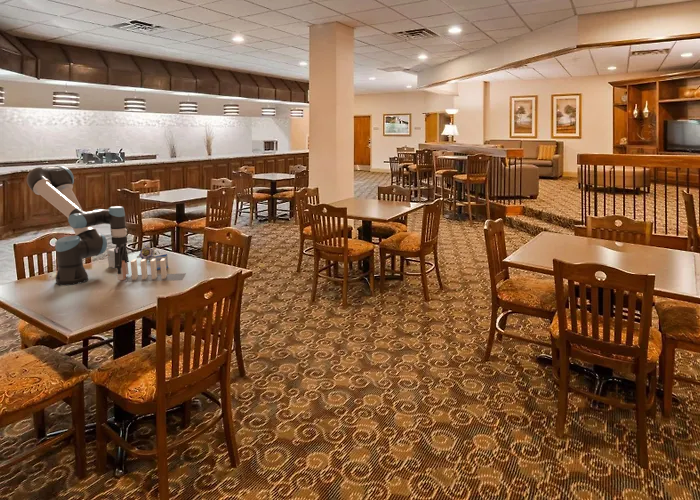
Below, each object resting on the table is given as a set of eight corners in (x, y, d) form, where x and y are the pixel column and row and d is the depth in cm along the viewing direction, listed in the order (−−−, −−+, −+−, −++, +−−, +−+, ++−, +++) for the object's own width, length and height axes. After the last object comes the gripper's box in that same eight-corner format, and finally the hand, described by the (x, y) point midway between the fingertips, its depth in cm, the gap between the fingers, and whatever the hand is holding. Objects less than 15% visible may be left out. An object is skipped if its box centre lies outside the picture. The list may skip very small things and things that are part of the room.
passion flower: (147, 271, 307) (133, 257, 303) (151, 263, 317) (137, 249, 312) (161, 261, 306) (147, 247, 301) (165, 254, 316) (152, 239, 311)
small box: (125, 266, 297) (123, 249, 295) (116, 269, 293) (114, 251, 290) (117, 264, 301) (115, 247, 299) (108, 267, 297) (106, 249, 294)
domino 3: (151, 279, 271) (150, 261, 269) (153, 276, 276) (152, 258, 274) (155, 278, 272) (153, 260, 269) (157, 276, 277) (155, 258, 274)
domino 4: (161, 278, 272) (160, 260, 270) (163, 276, 277) (161, 258, 275) (165, 278, 272) (163, 260, 270) (166, 276, 277) (165, 258, 275)
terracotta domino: (120, 281, 269) (118, 262, 267) (123, 278, 274) (121, 260, 272) (124, 280, 269) (122, 262, 267) (126, 278, 274) (124, 260, 272)
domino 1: (132, 279, 270) (130, 261, 268) (134, 277, 275) (132, 259, 272) (135, 279, 270) (134, 261, 268) (138, 277, 275) (136, 259, 273)
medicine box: (156, 271, 289) (155, 256, 287) (152, 269, 291) (150, 255, 289) (168, 268, 295) (167, 253, 293) (164, 267, 298) (163, 252, 296)
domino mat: (125, 282, 266) (125, 282, 266) (131, 276, 278) (131, 275, 278) (182, 280, 270) (182, 280, 270) (186, 274, 283) (186, 273, 283)
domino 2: (142, 279, 271) (140, 261, 268) (144, 276, 276) (142, 259, 273) (145, 279, 271) (143, 261, 269) (147, 276, 276) (146, 258, 274)
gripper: (120, 240, 256) (125, 282, 261) (132, 231, 277) (135, 271, 283) (105, 240, 255) (109, 283, 260) (117, 232, 276) (121, 271, 281)
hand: (123, 276), depth 271 cm, fingers open, 9 cm apart
